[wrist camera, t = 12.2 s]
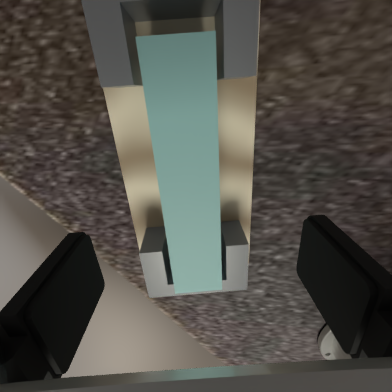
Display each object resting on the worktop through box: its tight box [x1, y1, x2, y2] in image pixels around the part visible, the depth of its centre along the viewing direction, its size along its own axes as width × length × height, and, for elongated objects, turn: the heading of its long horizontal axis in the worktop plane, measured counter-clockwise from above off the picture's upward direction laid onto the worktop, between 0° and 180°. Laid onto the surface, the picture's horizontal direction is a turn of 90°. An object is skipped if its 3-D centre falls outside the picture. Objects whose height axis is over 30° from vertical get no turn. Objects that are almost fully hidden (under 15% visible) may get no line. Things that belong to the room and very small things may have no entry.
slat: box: [135, 31, 222, 294], centre depth 18 cm, size 18×4×6 cm, turn 4°
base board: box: [103, 5, 260, 264], centre depth 21 cm, size 25×12×2 cm, turn 4°
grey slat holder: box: [81, 0, 260, 298], centre depth 18 cm, size 24×10×4 cm, turn 4°
